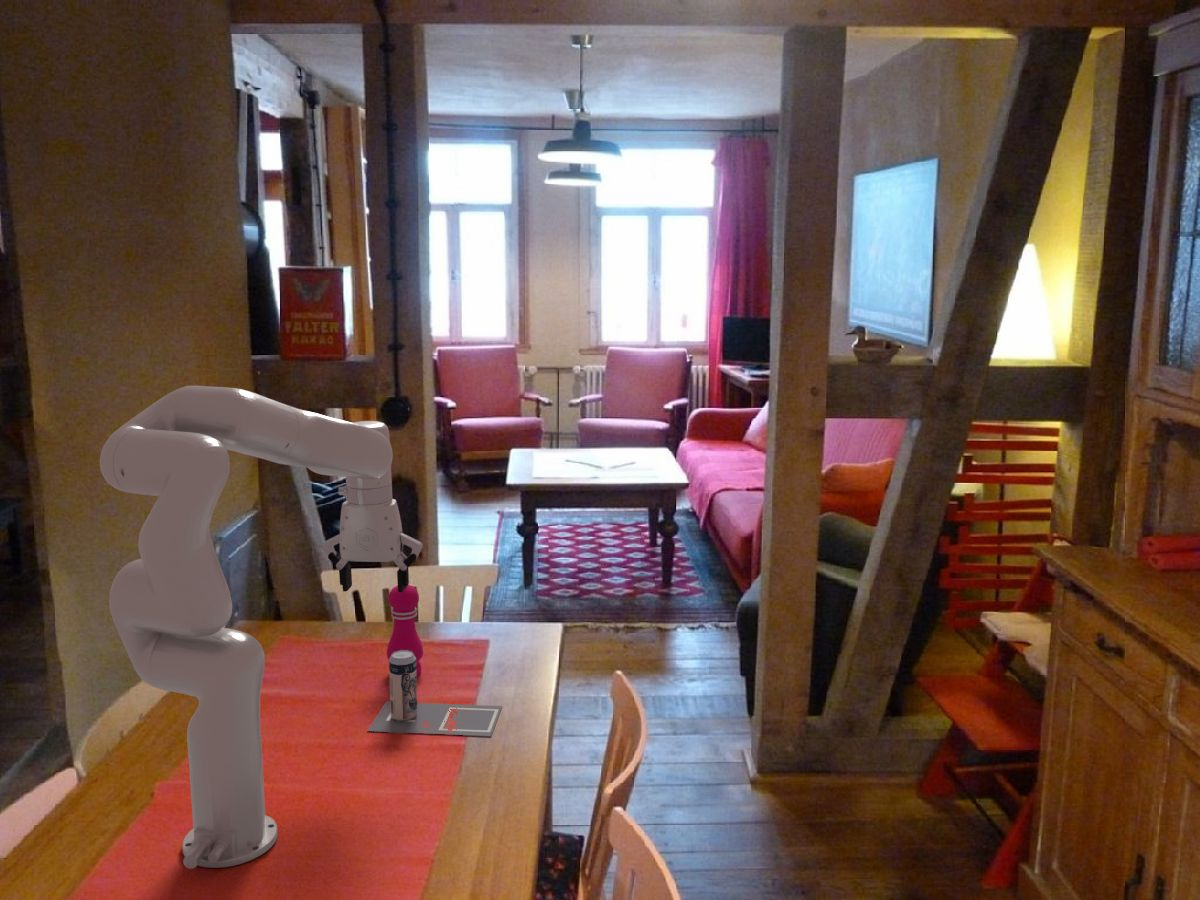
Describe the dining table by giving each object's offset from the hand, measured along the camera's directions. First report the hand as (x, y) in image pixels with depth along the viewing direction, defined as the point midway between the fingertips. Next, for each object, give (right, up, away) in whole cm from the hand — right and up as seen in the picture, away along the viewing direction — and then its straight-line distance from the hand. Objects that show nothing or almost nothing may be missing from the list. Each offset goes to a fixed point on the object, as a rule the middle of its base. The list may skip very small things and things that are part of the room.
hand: (374, 589), depth 170 cm
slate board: (+9, -25, +8) cm, 27 cm away
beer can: (+3, -25, +8) cm, 26 cm away
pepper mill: (0, -21, +28) cm, 35 cm away
